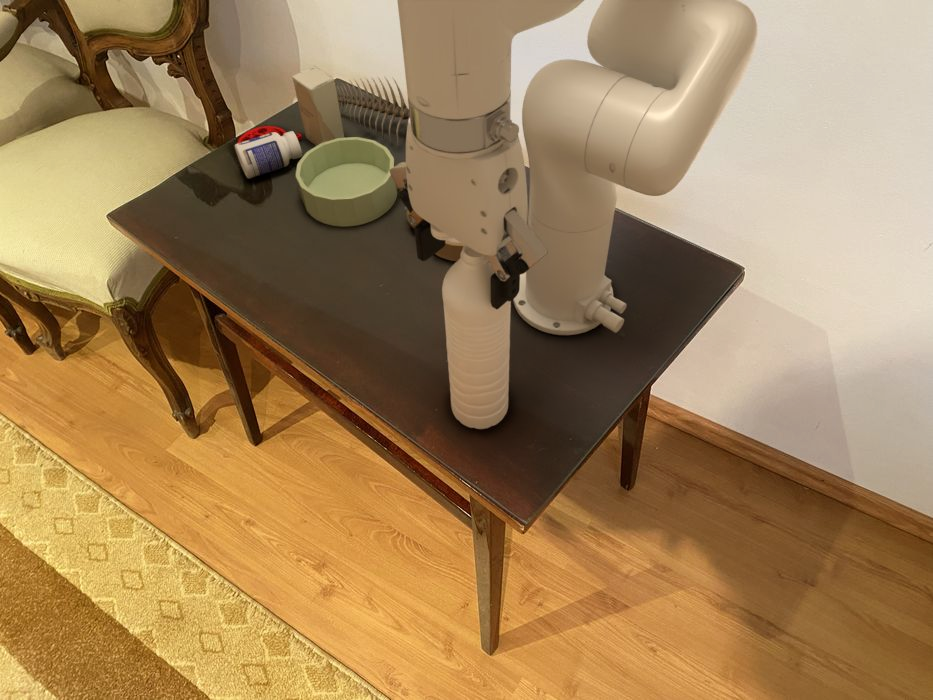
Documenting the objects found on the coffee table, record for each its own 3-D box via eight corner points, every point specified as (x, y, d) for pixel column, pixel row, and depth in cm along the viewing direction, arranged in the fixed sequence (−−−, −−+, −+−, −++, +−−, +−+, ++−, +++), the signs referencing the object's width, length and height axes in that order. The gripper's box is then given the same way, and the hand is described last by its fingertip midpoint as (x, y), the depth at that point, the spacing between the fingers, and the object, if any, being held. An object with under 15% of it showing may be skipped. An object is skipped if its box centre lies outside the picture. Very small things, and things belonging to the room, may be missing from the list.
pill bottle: (250, 186, 110) (306, 168, 113) (242, 162, 106) (301, 144, 108) (238, 161, 113) (294, 143, 115) (231, 136, 108) (288, 119, 110)
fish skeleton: (438, 163, 111) (437, 102, 104) (294, 111, 121) (284, 52, 113) (457, 146, 114) (458, 86, 107) (316, 96, 124) (307, 38, 117)
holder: (417, 191, 108) (414, 163, 104) (346, 240, 102) (340, 213, 98) (354, 153, 114) (349, 125, 110) (284, 198, 108) (276, 170, 104)
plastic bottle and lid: (520, 407, 84) (528, 248, 64) (477, 440, 81) (472, 285, 61) (468, 362, 88) (461, 200, 68) (427, 393, 85) (407, 233, 66)
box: (305, 138, 117) (289, 75, 108) (327, 127, 118) (313, 63, 110) (325, 153, 114) (310, 89, 105) (347, 141, 116) (334, 77, 107)
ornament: (236, 131, 117) (298, 120, 119) (237, 134, 118) (299, 123, 119) (238, 161, 113) (303, 149, 114) (239, 164, 113) (304, 153, 114)
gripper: (584, 134, 53) (566, 298, 66) (413, 52, 60) (428, 214, 74) (516, 186, 49) (512, 347, 63) (344, 92, 57) (374, 254, 70)
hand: (467, 274), depth 68 cm, fingers closed on plastic bottle and lid, 8 cm apart
